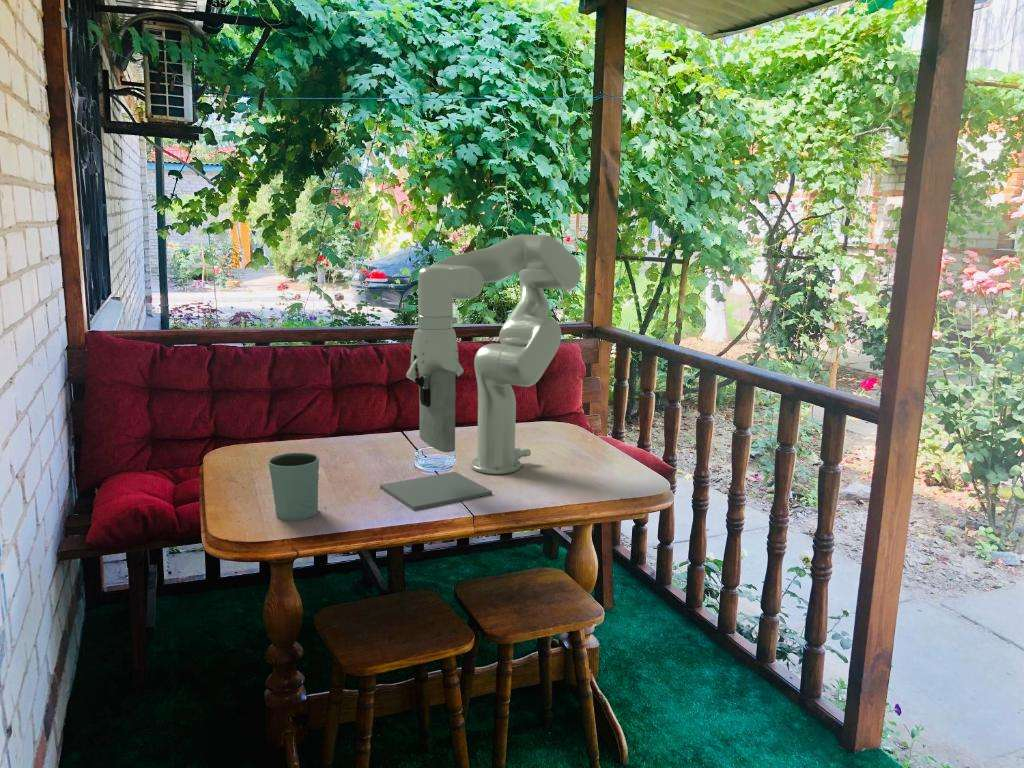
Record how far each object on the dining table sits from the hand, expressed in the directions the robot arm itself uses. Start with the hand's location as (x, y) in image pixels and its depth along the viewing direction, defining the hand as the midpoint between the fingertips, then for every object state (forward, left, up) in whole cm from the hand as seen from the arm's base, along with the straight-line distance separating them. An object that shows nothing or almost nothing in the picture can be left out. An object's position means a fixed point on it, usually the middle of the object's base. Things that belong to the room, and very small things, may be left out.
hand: (435, 403), depth 177 cm
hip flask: (0, 0, -10) cm, 10 cm away
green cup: (+32, -3, -21) cm, 38 cm away
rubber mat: (0, 0, -21) cm, 21 cm away
